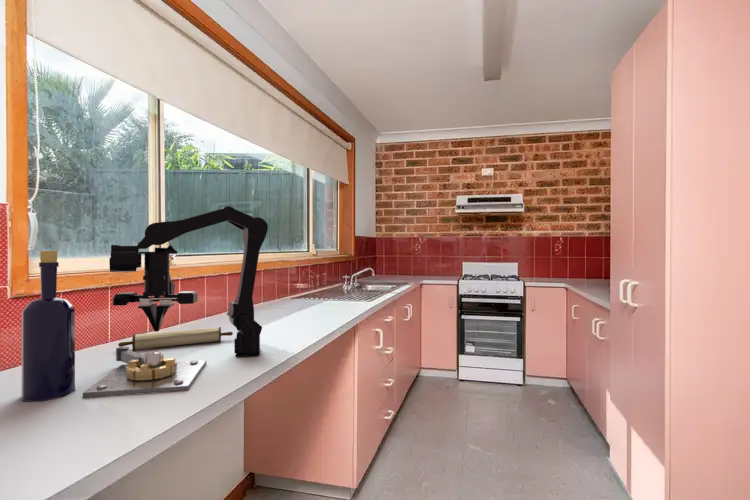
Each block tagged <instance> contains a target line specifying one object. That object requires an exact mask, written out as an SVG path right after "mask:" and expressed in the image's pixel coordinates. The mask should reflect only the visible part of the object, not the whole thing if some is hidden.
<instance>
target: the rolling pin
mask: <svg viewBox="0 0 750 500" xmlns="http://www.w3.org/2000/svg"><path fill="white" fill-rule="evenodd" d="M233 335H234V333H233V332H232V331H226V332H222V328H221V326H219V327H218V326H217V327H216V326H215V327H208V328H207V327H204V328H192V329H181V330H180V329H179V330H171V331H170V330H169V331H156V332H151V333H150V332H148V333H139V334H135V333H134V334H132V341H123V342H119V343H118V348H119V347H127V346H130V345H131V346H132V347H131V348H132V351H133V352H135V351H139V350H147V349H155V348H156V349H157V348H166V347H174V346H176V347H177V346H183V345H184V346H185V345H192V344H193V345H194V344H195V345H196V344H205V343H214V342H216V343H217V342H219V343H221V342H222V336H233Z"/></svg>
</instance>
